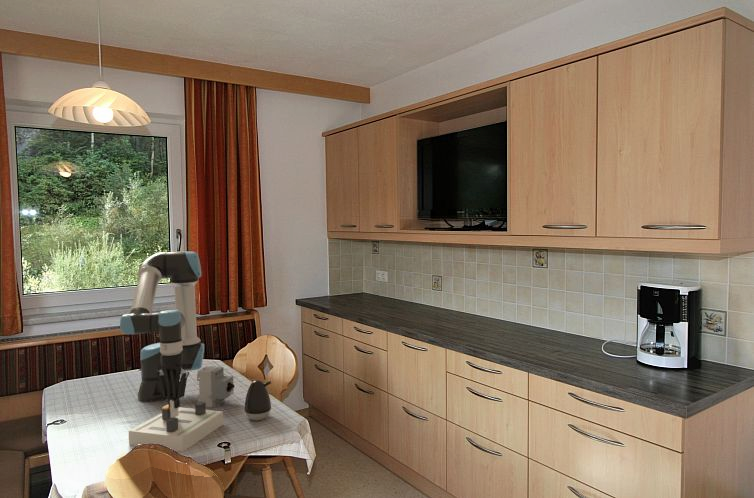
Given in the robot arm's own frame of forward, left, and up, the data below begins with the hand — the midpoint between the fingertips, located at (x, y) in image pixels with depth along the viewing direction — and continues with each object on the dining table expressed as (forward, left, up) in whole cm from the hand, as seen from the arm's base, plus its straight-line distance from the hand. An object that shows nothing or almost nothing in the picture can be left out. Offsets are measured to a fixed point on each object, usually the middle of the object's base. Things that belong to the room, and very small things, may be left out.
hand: (174, 416), depth 187 cm
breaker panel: (+1, 0, -6) cm, 7 cm away
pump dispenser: (+22, +21, -7) cm, 31 cm away
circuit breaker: (-3, +31, -7) cm, 32 cm away
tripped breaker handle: (-3, 0, -1) cm, 3 cm away
